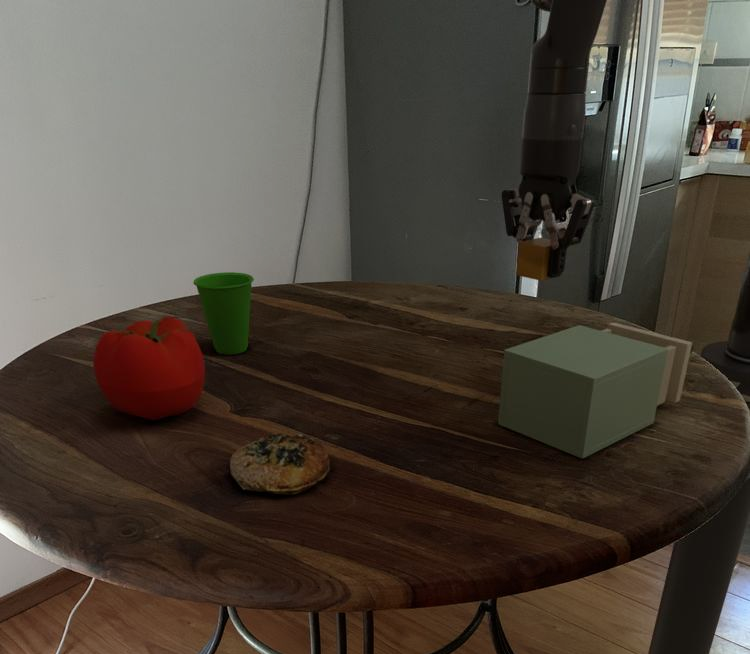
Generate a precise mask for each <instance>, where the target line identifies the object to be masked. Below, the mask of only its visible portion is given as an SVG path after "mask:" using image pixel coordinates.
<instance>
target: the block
mask: <svg viewBox="0 0 750 654" xmlns="http://www.w3.org/2000/svg"><path fill="white" fill-rule="evenodd" d="M550 249H552V247H551V243H550V238H546V237H545V238H544V237H534V239H531V240H526V241H522V242H519V247H518V246H517V253H518V254H517V255H518V260H517V259H516V272H515V273H516V276H518V277H523V278H527V279H531V280H536V281H540V282H542V281H547V280H549V279H551V278H550V277H548V276H547V272H548V262H549V252H550ZM562 275H563V273H561V275H560V276H559V277H561V276H562Z"/></svg>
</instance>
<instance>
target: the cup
mask: <svg viewBox="0 0 750 654" xmlns="http://www.w3.org/2000/svg"><path fill="white" fill-rule="evenodd" d="M254 280H255V278H254V277H253V275H250V274H249V273H245V272H244V273H243V272H234V271H233V272H227V271H226V272H215V273H208V274H204V275H201V276H197V277H196V278H195V279H194V280H193V285H194V286H196V289H197V293H198V296H199V300H200V304H201V306H202V310H203V314H204V317H205V320H206V324H207V327H208V330H209V333H210V334H209V335H210V337H211V341H212V344H213V348H214V349H215V351H216V352H217V353H218V354H220V355H237V354H241V353H244V352H246V351H247V349H248V347H249V334H250V317H251V316H250V314H251V302H252V301H251V299H252V298H251V297H252V284H253V282H254Z"/></svg>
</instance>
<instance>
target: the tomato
mask: <svg viewBox="0 0 750 654" xmlns="http://www.w3.org/2000/svg"><path fill="white" fill-rule="evenodd" d="M191 330H193V329H188V327H187V326H186V325H185V324H184V322H182V320H181V319H178V318H175V317H169V316H163V318H160V319H157V320H155V321H154V322H153V321H151V320H137V321H136V322H134V323H132V324H130V325H129V326H127V327H126V328H124V329H119V330H117V329H112V330H109V331H107V332H105V333H102V335H101V336H100V338H99V340H98V342H97V344H95V345H96V346H95V347H94V348H95V349H94V354H93V360H92V362H93V370H94V377H95V380H96V382H97V384H98V386H99V388H100V390H101V393H102V394H103V395H104V397H105V398H106V400H107V401H108V402H109V404H111V406H112V407H113V408H115V409H117V410H118V411H120V412H121V413H125V414H127V415H131V416H135V417H139V418H143V419H146V420H149V421H152V422H153V421H154V422H155V421H158V420H161V419H164V418H166V417H169V416H170V417H177V416H180V415H182V414H184V413H186V412H189V411H190V410H191V409H192V408H193V407H194V406H195V405H196V403H197V402H198V400H200V398H201V396H202V393H203V390H204V387H205V377H206V367H205V365H206V364H205V361H204V354H203V352H202V350H201V347H200V346H199V342H197V338H196V336H195V333H193V332H192V331H191Z"/></svg>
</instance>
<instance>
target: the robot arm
mask: <svg viewBox="0 0 750 654" xmlns="http://www.w3.org/2000/svg"><path fill="white" fill-rule="evenodd" d="M607 1H608V0H530V2H531V3H532V4H533V5H534V7H536V8H537V9H539V10H542V11H544V12H548V13H549V15H548V21H547V25H546V29H545V32H544V34H543V35H542V36H541V37H540V38H538V39H537V40H536V41H535V43H533V46H532V47H531V52H530V59H529V67H528V80H527V94H526V101H525V105H524V111H523V116H522V117H523V118H522V128H521V129H522V131H521V132H522V133H521V145H520V157H519V174H520V176H521V180H520V183H519V185H518V187H515V188H509V189H504V190H502V192H501V202H502V209H503V217H504V218H503V219H504V223H505V231H506V236H508V237H513V238H514V239H515V241H516V242H517V248H518V247H519V242H522V241H526V240H531V239H535V238H536V233H537V230H538V227H539V226H540V225H541V224H542V222H544V224H545V229H546V232H547V233H548V234H549V239H550V243H551V247H552V249H550V252H549V262H548V272H547V276H548V277H550V279H555V278H558V277H561V276H562V275H561V273H562V274H563V273H564V271H565V267H566V260H567V250H568V248H570V247H571V246H574V245H578V244H581V242H582V241H583V237H584V234H585V232H586V229H587V227H588V224H589V221H590V218H591V217H592V213H593V210H594V208H595V205H596V199H595V198H594V197H585V196H583V195H581V194H579V193H578V188H577V185H576V180H577V177H578V175H579V173H580V167H581V158H582V150H583V141H584V133H585V124H586V123H585V122H586V115H587V114H586V113H587V112H586V111H587V110H586V109H587V108H586V104H587V103H586V100H587V99H586V98H587V94H586V93H587V87H588V78H589V68H590V59H591V58H590V57H591V51H592V49H593V46H594V43H595V40H596V38H597V35H598V31H599V29H600V25H601V21H602V18H603V15H604V11H605V8H606V4H607ZM569 208H570V209H569ZM569 210H570V212H571V215H570V213H569ZM557 221H558V222H557ZM516 254H517V255H516V261H517V260H518V252H517V253H516ZM560 275H561V276H560ZM742 279H743V280H742V281H741V282H742V283H741V287H740V290H739V295H738V298H737V303H736V308H735V312H734V316H733V317H732V322H731V326H730V330H729V334H728V338H727V341H728V344H727V347H726V350H725V355H726V356H727V357H728V358H730V359H732V360H734V361H737V362H740V363H744V364H749V365H750V251H749V252H748V257H747V261H746V265H745V269H744V273H743V278H742Z"/></svg>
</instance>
